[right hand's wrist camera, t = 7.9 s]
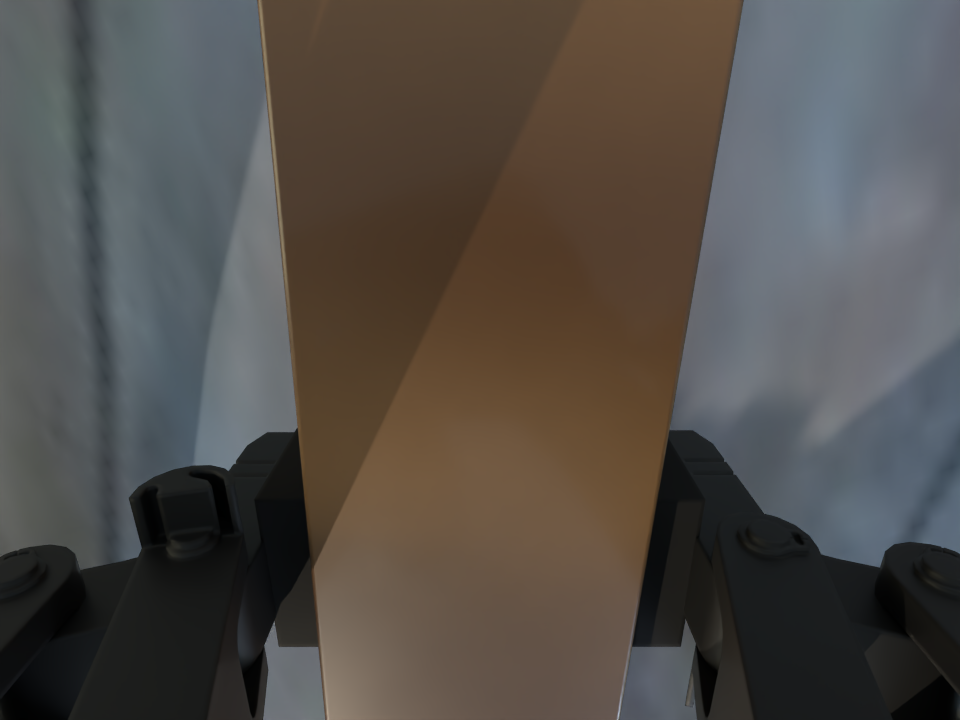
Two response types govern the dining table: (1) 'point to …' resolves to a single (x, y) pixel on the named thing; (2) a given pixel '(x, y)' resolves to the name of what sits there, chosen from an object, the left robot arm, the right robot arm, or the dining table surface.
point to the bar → (487, 330)
